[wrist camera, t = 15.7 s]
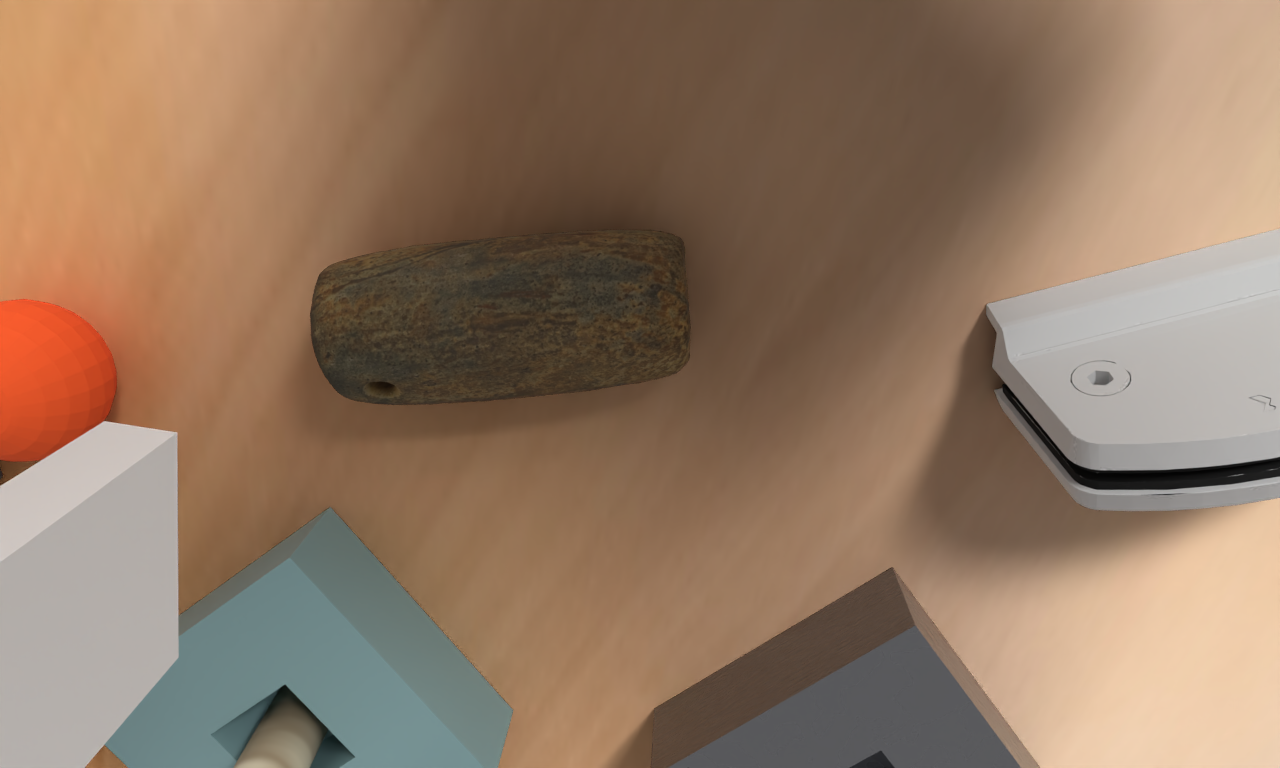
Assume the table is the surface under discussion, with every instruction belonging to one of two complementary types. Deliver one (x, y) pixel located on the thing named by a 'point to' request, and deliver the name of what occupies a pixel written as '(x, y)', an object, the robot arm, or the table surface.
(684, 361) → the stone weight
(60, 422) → the clementine
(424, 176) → the table surface
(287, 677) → the socket block
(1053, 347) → the grey rounded slab
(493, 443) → the table surface
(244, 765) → the pin
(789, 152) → the table surface
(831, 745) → the mount block
